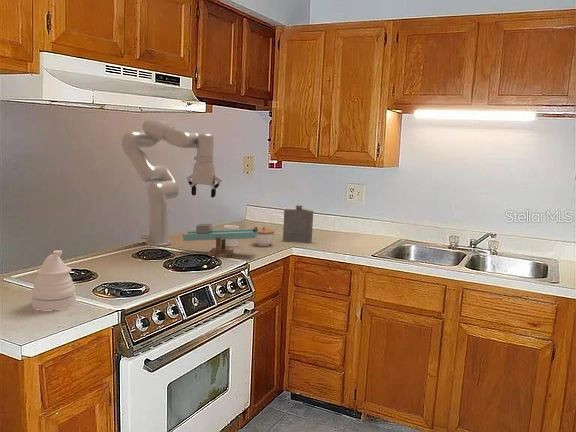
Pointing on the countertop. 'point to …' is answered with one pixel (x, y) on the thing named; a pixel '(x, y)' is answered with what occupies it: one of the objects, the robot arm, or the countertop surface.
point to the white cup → (231, 241)
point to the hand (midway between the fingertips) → (203, 196)
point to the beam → (222, 234)
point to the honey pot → (53, 285)
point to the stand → (220, 249)
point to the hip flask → (298, 225)
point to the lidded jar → (264, 237)
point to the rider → (204, 229)
